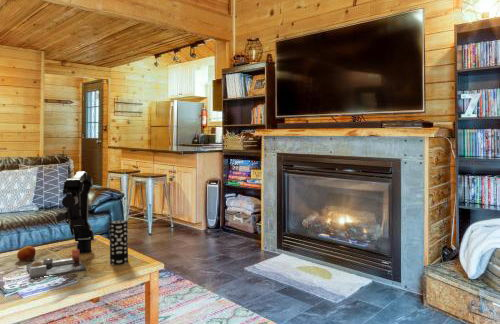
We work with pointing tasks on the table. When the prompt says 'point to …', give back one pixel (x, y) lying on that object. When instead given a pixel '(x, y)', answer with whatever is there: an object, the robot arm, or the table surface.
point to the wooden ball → (37, 264)
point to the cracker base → (55, 269)
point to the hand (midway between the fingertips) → (74, 237)
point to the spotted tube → (118, 242)
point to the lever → (50, 262)
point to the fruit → (26, 253)
